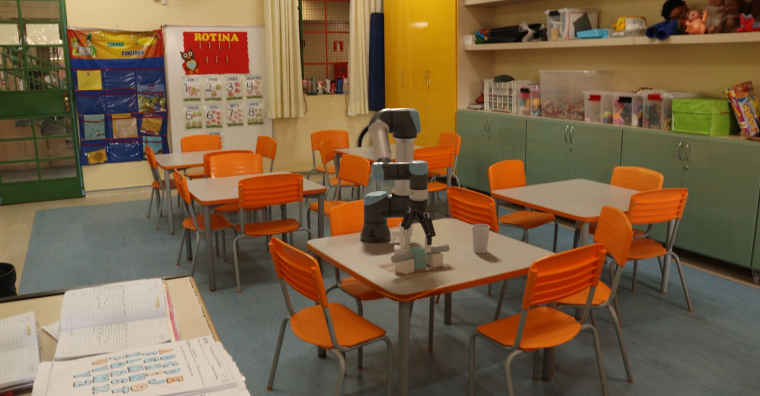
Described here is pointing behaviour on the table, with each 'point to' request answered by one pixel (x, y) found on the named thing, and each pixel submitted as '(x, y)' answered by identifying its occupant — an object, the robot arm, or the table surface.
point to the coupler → (418, 257)
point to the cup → (480, 237)
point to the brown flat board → (418, 272)
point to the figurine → (401, 240)
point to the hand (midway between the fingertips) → (417, 248)
